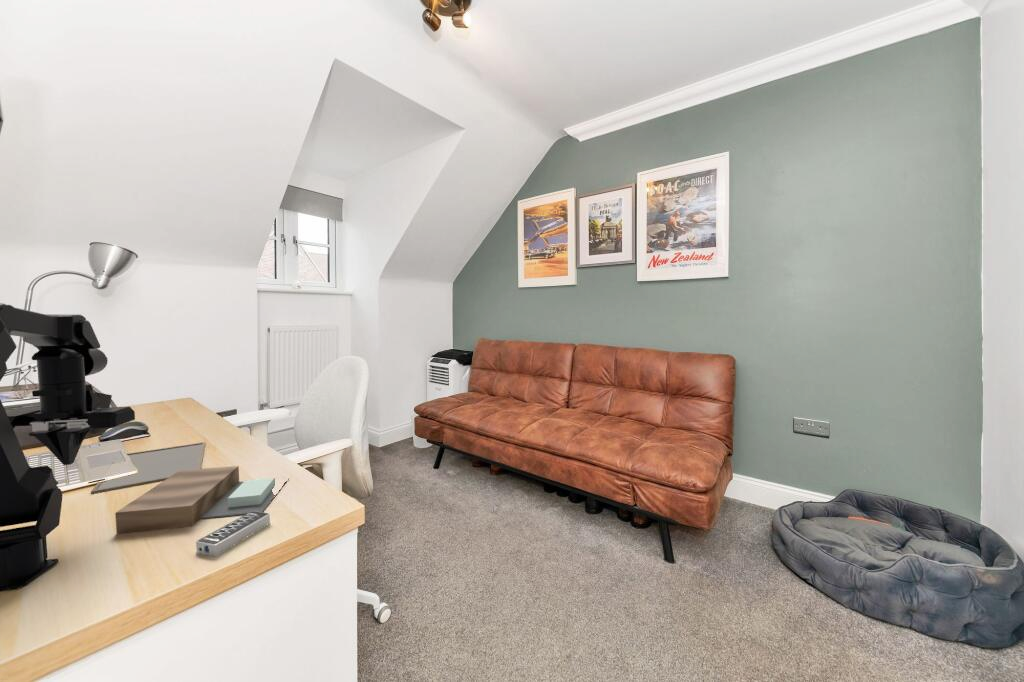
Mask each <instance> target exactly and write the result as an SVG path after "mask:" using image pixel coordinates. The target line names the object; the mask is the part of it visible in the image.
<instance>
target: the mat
mask: <svg viewBox="0 0 1024 682" xmlns="http://www.w3.org/2000/svg"><path fill="white" fill-rule="evenodd" d="M244 481H245V480H244ZM244 481H239V482H238V483H237V484H235V485H234V486H233V487H232V488H231V489H230V490H229V491H228V492H227V493H226V494H225V495H224V496H223V497H221V498H220V499H219V500H218V501H217V502H216V503H215V504H214V505H213V506H212V507H211V508H210V509H209V510H207V511H206V512H205V513H204V514H203V515H202V516H201V517H200V519H199V520H205V519H214V518H215V519H216V518H225V517H236V516H244V515H246V514H247V513H249V512H251V511H257V512H263V513H264V511H265V510H266V509H267V508H268V506H269V505H270V504H269V503H270V502H272V501H273V500H274V499H275V497H276V496H275V495H274V494H273V492H272V490H271V492H270V493H269V494H268V496H267V497H266V498H265V499H264V501H263V502H262V503H261V504H258V505H248V506H238V507H229V508H228V497H229V496H230V495H231V494H232V493H233V492H234V491H235V490H236V489H237V488H238V487H239V486H240V485H241V484H242V483H243V482H244ZM274 496H275V497H274ZM273 498H274V499H273ZM272 499H273V500H272ZM271 500H272V501H271ZM266 507H267V508H266Z"/></svg>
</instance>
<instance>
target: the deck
mask: <svg viewBox="0 0 1024 682" xmlns="http://www.w3.org/2000/svg"><path fill="white" fill-rule="evenodd" d="M239 469H240V468H239V465H232V466H222V467H206V468H201V469H191V470H180V471H178V472H177V473H175V474H174V475H172V476H171V477H169V478H168V479H166V480H164V481H160V482H159V484H157V485H155V486H154V487H152V488H151V489H149V490H148V491H146V492H145V493H143V494H142V495H140V496H138V497H137V498H135V499H133V501H131V502H129V503H128V504H126V505H125V506H123V507H122V508H119V510H117V511H116V512H115V513H114V514H115V515H114V516H115V525H116V526H115V528H116V529H115V530H116V535H119V534H128V533H129V534H130V533H136V532H137V533H139V532H145V531H146V532H147V531H155V530H156V531H157V530H166V529H175V528H176V529H177V528H185V527H186V528H187V527H194V525H195V524H196V523H198V522H199V521H200V520H201V519H200V517H201V516H202V515H203V514H204V513H205V512H206V511H207V510H209V509H210V508H211V507H212V506H213V505H214V504H215V503H216V502H217V501H218V500H219V499H220V498H221V497H223V496H224V495H225V494H226V493H227V492H228V491H229V490H230V489H231V488H232V487H233V486H234V485H235V484H237V483H238V482H240V470H239Z"/></svg>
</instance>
